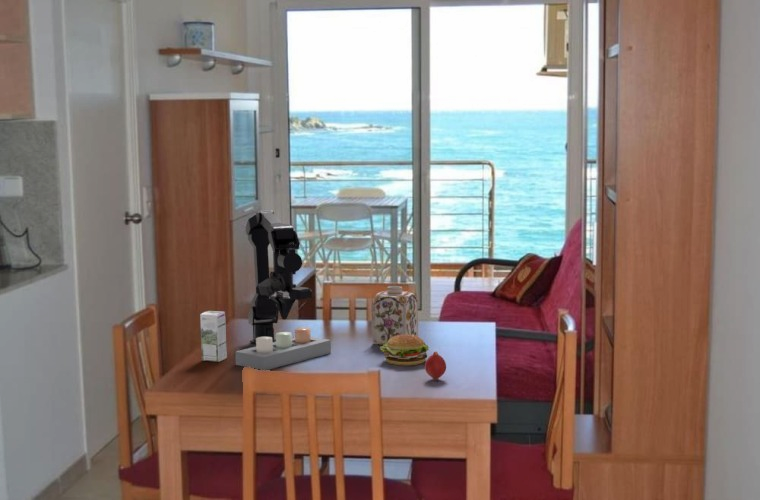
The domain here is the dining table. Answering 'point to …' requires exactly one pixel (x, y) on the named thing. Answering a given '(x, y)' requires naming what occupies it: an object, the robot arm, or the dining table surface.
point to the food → (405, 350)
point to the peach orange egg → (302, 335)
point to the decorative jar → (394, 314)
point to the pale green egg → (283, 340)
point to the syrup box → (213, 336)
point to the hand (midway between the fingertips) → (284, 319)
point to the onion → (435, 366)
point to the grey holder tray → (283, 354)
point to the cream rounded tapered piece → (264, 345)
